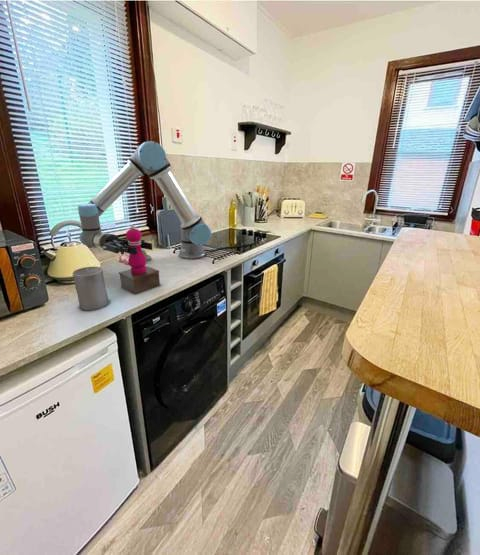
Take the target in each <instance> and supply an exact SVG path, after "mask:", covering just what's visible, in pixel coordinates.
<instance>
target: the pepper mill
mask: <svg viewBox="0 0 480 555" xmlns="http://www.w3.org/2000/svg"><path fill="white" fill-rule="evenodd" d="M142 237H143V234H142V232H141V230H140V229H138V228H136V226H135V225H134V224H131V225H130V229H128V230H127V231H126V233H125V239H128V240H129V241H128V242H129V245H130V247H135V248H137V255H135V254H130V256H128V260H127V262H128V266H129V267H130V269H131V273H133V274H141V273H144V272H146V266H147V259H146V258H145V256H144V254H143V252H142V250H141V249H142V248H141V239H142Z"/></svg>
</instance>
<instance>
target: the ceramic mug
mask: <svg viewBox="0 0 480 555" xmlns="http://www.w3.org/2000/svg"><path fill="white" fill-rule="evenodd" d="M141 250H142V252H143V254H144V256H145V258H146V260H151V259H152V256H151V255H149V254H147V252H146V251H145V249H144V248H141ZM128 255H129V256H130V253H128ZM129 256H128V257H129Z"/></svg>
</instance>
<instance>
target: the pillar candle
mask: <svg viewBox="0 0 480 555" xmlns="http://www.w3.org/2000/svg"><path fill="white" fill-rule="evenodd" d="M104 276H105V275H104V271H103V268H102V267H101V266H85V267H81V268H77V269H75V270H74V271H73V272H72V277H73V281H74V286H75V290H76V295H77V299H78V305H79V308H80V309H81V310H82V311H83V310H84V311H95V310H98V309H100V308H104V307H106V306H107V305H108V304H109V298H108V297H109V296H108V291H107V287H106V282H105V277H104Z"/></svg>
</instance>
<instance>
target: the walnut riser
mask: <svg viewBox="0 0 480 555" xmlns="http://www.w3.org/2000/svg"><path fill="white" fill-rule="evenodd" d="M145 266H146V272H144V273H141V274H133V273H131V268H129V269H126V270H122V271H119V272H118V275H119V280H120V285H121V288H122V289H124V290H126V291H128V292H130V293H132V294H134V295H137V294H141V293H143V292H146V291H148V290H151V289H152V290H153V289H154V288H157V287H160V286H161V282H160V270H158V269H156V268H154V267H150V266H147V265H145Z"/></svg>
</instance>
